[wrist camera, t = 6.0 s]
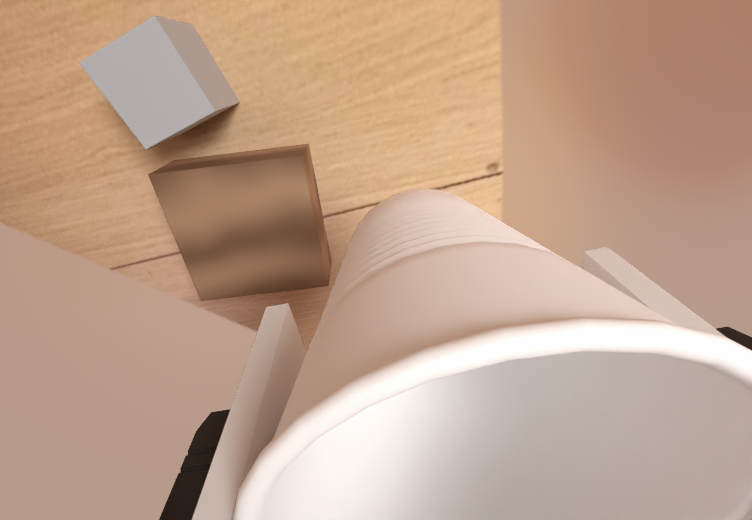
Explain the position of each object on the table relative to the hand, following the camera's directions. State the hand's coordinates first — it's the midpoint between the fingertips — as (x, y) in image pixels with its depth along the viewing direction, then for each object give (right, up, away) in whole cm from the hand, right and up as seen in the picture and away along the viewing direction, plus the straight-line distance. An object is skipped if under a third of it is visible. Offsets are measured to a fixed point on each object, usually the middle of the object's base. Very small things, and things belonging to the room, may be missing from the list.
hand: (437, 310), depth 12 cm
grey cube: (-17, +16, +17) cm, 29 cm away
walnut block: (-13, +6, +23) cm, 27 cm away
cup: (0, +2, +4) cm, 4 cm away
